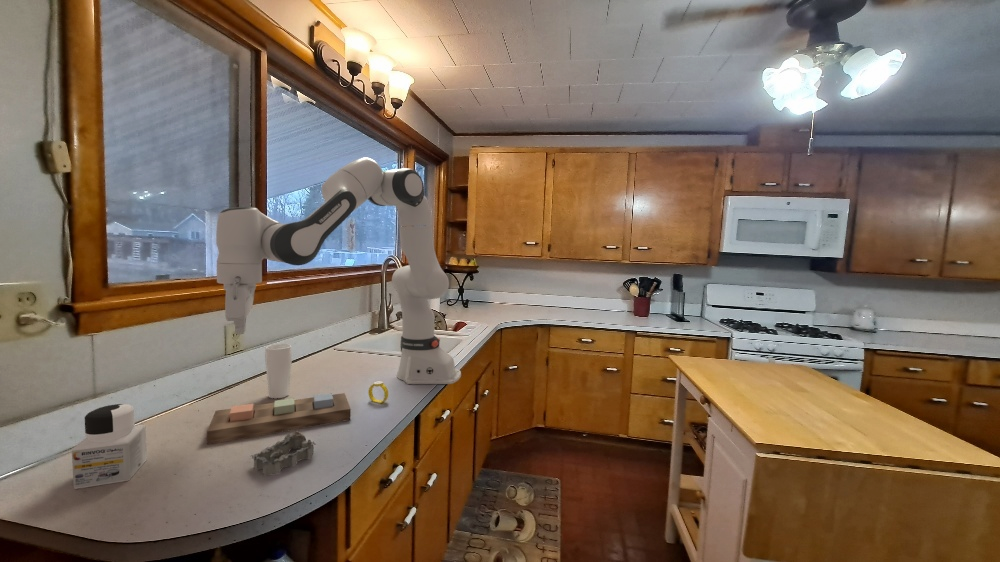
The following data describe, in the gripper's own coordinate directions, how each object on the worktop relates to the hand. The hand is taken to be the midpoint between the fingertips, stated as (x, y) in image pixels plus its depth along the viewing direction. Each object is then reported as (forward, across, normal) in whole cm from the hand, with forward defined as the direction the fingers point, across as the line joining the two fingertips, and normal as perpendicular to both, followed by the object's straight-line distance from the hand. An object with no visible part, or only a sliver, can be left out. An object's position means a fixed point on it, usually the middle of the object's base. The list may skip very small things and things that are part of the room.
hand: (240, 333), depth 91 cm
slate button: (+22, 0, -18) cm, 28 cm away
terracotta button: (+22, 0, 0) cm, 22 cm away
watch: (+24, +3, -33) cm, 41 cm away
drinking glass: (+24, +19, -8) cm, 31 cm away
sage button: (+21, 0, -9) cm, 23 cm away
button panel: (+23, 0, -9) cm, 25 cm away
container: (+24, -12, +20) cm, 33 cm away
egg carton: (+24, -20, -9) cm, 33 cm away
